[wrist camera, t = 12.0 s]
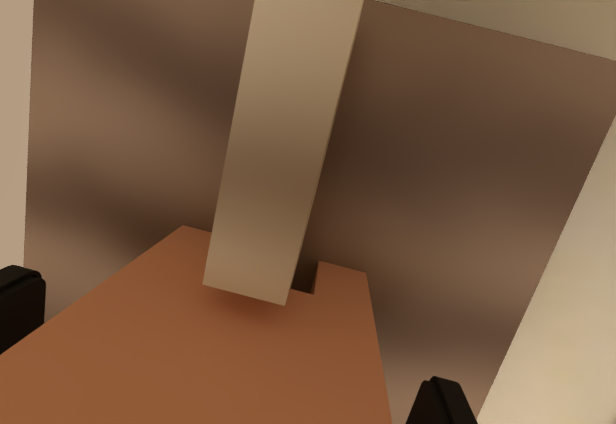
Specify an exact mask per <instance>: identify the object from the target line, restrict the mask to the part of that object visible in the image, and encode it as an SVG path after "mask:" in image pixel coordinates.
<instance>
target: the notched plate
mask: <svg viewBox="0 0 616 424" xmlns="http://www.w3.org/2000/svg"><path fill="white" fill-rule="evenodd" d="M211 234H212V233H211V232H207V231H204V230H200V229H196V228H192V227H188V226H184V225H182V226H181V227H179V228H178V229H177V230H175V231H174V232H172V233H171V234H170V235H168V236H167V237H165V238H164V239H163V240H161V241H160V242H158V243H157V244H156V245H154V246H153V247H151V248H150V249H149V250H147V251H146V252H144V253H143V254H141V255H140V256H139V257H137V258H136V259H134V260H133V261H132V262H130V263H129V264H127V265H126V266H125V267H123V268H122V269H120V270H119V271H118V272H116V273H115V274H113V275H112V276H111V277H109V278H108V279H106V280H105V281H104V282H102V283H101V284H99V285H98V286H96V287H95V288H94V289H92V290H91V291H89V292H88V293H87V294H85V295H84V296H82V297H81V298H80V299H78V300H77V301H75V302H74V303H73V304H71V305H70V306H68V307H67V308H66V309H64V310H63V311H61V312H60V313H58V314H57V315H56V316H54V317H53V318H51V319H50V320H49V321H47V322H46V323H44V324H43V325H42V326H40V327H39V328H37V329H36V330H35V331H33V332H32V333H30V334H29V335H28V336H26V337H25V338H23V339H22V340H21V341H19V342H18V343H16V344H15V345H13V346H12V347H11V348H9V349H8V350H6V351H5V352H4V353H2V354H1V355H0V424H392V418H391V413H390V407H389V401H388V395H387V390H386V384H385V378H384V372H383V367H382V361H381V355H380V350H379V344H378V338H377V332H376V327H375V321H374V315H373V309H372V304H371V298H370V292H369V286H368V281H367V275H366V273H365V272H361V271H357V270H353V269H349V268H345V267H342V266H338V265H334V264H330V263H326V262H322V261H318V265H317V269H316V272H315V276H314V280H313V283H312V287H311V291H310V294H309V293H305V292H301V291H297V290H293V289H289V293H288V297H287V300H286V304H285V306H283V305H279V304H275V303H271V302H267V301H264V300H260V299H256V298H252V297H248V296H245V295H241V294H237V293H233V292H229V291H226V290H222V289H218V288H214V287H210V286H207V285H203V284H202V283H203V278H204V272H205V267H206V261H207V256H208V251H209V245H210V240H211Z"/></svg>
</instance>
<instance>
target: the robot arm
mask: <svg viewBox="0 0 616 424" xmlns="http://www.w3.org/2000/svg"><path fill="white" fill-rule="evenodd" d="M45 298H46V282H45V280H44V279H42V276H41V274H40V272H38V271H35V270H32V269H28V268H24V267H20V266H16V265H11V266H7V267H5V268H3V269H1V270H0V355H1V354H2V353H4V352H5V351H6V350H8V349H9V348H11V347H12V346H13V345H15V344H16V343H18V342H19V341H21V340H22V339H23V338H25V337H26V336H28V335H29V334H30V333H32V332H33V331H35V330H36V329H37V328H39V327H40V326H42V325H43V324H44V315H45ZM406 424H478V423H477V421H476V419H475V416H474V414H473V412H472V410H471V407H470V405H469V403H468V401H467V399H466V396H465V394H464V392H463V390H462V388H461V386H460V384H459V383H458V382H456V381H452V380H448V379H444V378H441V377H437V376H432V377H431V379H430V380H429V381H427V380H424V381H423V382H422V383H421V386H420V388H419V391H418V393H417V396H416V398H415V401H414V403H413V406H412V408H411V411H410V413H409V416H408V418H407V421H406Z"/></svg>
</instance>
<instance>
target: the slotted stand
mask: <svg viewBox="0 0 616 424" xmlns="http://www.w3.org/2000/svg"><path fill="white" fill-rule="evenodd" d="M33 12H34V13H33V37H32V62H31V88H30V114H29V115H30V116H29V140H28V141H29V142H28V166H27V192H26V218H25V244H24V268H28V269H32V270H35V271H38V272H40V274H41V276H42V279H44V280H45V282H46V298H45V315H44V323H46V322H47V321H49V320H50V319H51V318H53V317H54V316H56V315H57V314H58V313H60V312H61V311H63V310H64V309H66V308H67V307H68V306H70V305H71V304H73V303H74V302H75V301H77V300H78V299H80V298H81V297H82V296H84V295H85V294H87V293H88V292H89V291H91V290H92V289H94V288H95V287H96V286H98V285H99V284H101V283H102V282H104V281H105V280H106V279H108V278H109V277H111V276H112V275H113V274H115V273H116V272H118V271H119V270H120V269H122V268H123V267H125V266H126V265H127V264H129V263H130V262H132V261H133V260H134V259H136V258H137V257H139V256H140V255H141V254H143V253H144V252H146V251H147V250H149V249H150V248H151V247H153V246H154V245H156V244H157V243H158V242H160V241H161V240H163V239H164V238H165V237H167V236H168V235H170V234H171V233H172V232H174V231H175V230H177V229H178V228H179V227H181V226H182V225H184V226H188V227H192V228H196V229H200V230H204V231H207V232H211V233H212V234H211V240H210V245H209V251H208V256H207V261H206V267H205V272H204V278H203V283H202V284H203V285H207V286H210V287H214V288H218V289H222V290H226V291H229V292H233V293H237V294H241V295H245V296H248V297H252V298H256V299H260V300H264V301H267V302H271V303H275V304H279V305H283V306H285V304H286V300H287V297H288V293H289V289H293V290H297V291H301V292H305V293H309V294H310V291H311V287H312V283H313V280H314V276H315V272H316V269H317V265H318V261H322V262H326V263H330V264H334V265H338V266H342V267H345V268H349V269H353V270H357V271H361V272H365V273H366V275H367V281H368V286H369V292H370V298H371V304H372V309H373V315H374V321H375V327H376V332H377V338H378V344H379V350H380V355H381V361H382V367H383V372H384V378H385V384H386V390H387V395H388V401H389V407H390V413H391V418H392V424H406V421H407V418H408V416H409V413H410V411H411V408H412V406H413V403H414V401H415V398H416V396H417V393H418V391H419V388H420V386H421V383H422V382H423V381H424V380H427V381H429V380H430V379H431V377H432V376H437V377H441V378H444V379H448V380H452V381H456V382H458V383H459V384H460V386H461V388H462V390H463V392H464V394H465V396H466V399H467V401H468V403H469V405H470V407H471V410H472V412H473V414H474V416H475V419H477V416H478V414H479V412H480V410H481V408H482V406H483V403H484V401H485V399H486V397H487V395H488V392H489V390H490V388H491V386H492V384H493V381H494V379H495V377H496V375H497V373H498V371H499V368H500V366H501V364H502V362H503V360H504V357H505V355H506V353H507V351H508V349H509V346H510V344H511V342H512V340H513V338H514V336H515V333H516V331H517V329H518V327H519V325H520V322H521V320H522V318H523V316H524V314H525V311H526V309H527V307H528V305H529V303H530V301H531V298H532V296H533V294H534V292H535V290H536V287H537V285H538V283H539V281H540V279H541V276H542V274H543V272H544V270H545V268H546V266H547V263H548V261H549V259H550V257H551V255H552V252H553V250H554V248H555V246H556V244H557V241H558V239H559V237H560V235H561V233H562V231H563V228H564V226H565V224H566V222H567V220H568V217H569V215H570V213H571V211H572V209H573V206H574V204H575V202H576V200H577V198H578V196H579V193H580V191H581V189H582V187H583V185H584V182H585V180H586V178H587V176H588V174H589V171H590V169H591V167H592V165H593V163H594V161H595V158H596V156H597V154H598V152H599V150H600V147H601V145H602V143H603V141H604V139H605V136H606V134H607V132H608V130H609V128H610V126H611V123H612V121H613V119H614V117H615V115H616V61H614V60H610V59H606V58H602V57H598V56H594V55H590V54H586V53H582V52H578V51H574V50H570V49H566V48H562V47H558V46H554V45H550V44H546V43H542V42H538V41H534V40H530V39H526V38H522V37H518V36H514V35H510V34H506V33H502V32H498V31H494V30H490V29H486V28H482V27H478V26H474V25H470V24H466V23H462V22H458V21H454V20H450V19H446V18H442V17H438V16H434V15H430V14H426V13H422V12H418V11H414V10H410V9H406V8H402V7H398V6H394V5H390V4H386V3H382V2H378V1H374V0H34V11H33Z"/></svg>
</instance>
